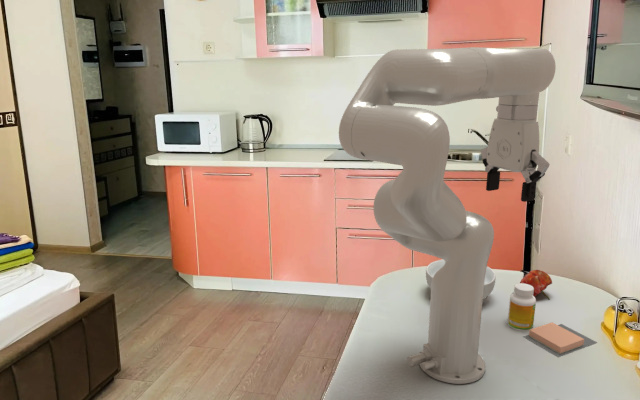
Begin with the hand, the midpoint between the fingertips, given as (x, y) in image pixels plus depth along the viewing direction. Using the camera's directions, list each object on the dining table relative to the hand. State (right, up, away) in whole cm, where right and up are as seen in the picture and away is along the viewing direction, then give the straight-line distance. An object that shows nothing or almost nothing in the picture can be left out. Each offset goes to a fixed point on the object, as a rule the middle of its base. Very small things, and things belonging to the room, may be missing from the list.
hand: (509, 195), depth 112 cm
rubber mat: (+11, -31, +1) cm, 33 cm away
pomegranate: (+14, -26, +22) cm, 36 cm away
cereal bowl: (-5, -26, +22) cm, 34 cm away
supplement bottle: (+5, -30, +7) cm, 31 cm away
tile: (+13, -30, +2) cm, 32 cm away
